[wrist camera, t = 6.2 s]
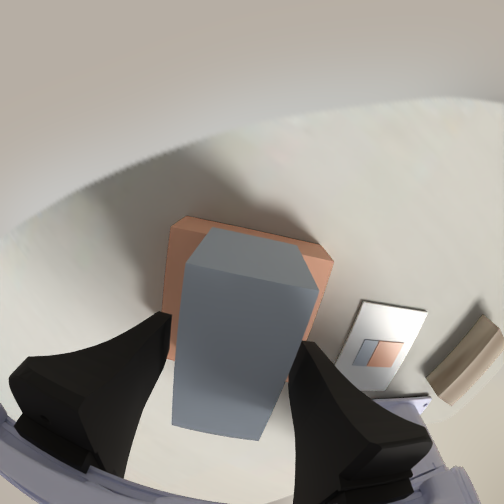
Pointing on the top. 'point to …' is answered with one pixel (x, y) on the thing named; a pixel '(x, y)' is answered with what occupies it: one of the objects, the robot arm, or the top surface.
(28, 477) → the robot arm
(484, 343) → the brick
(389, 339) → the page
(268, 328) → the top brick
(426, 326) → the top surface
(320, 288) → the base brick
